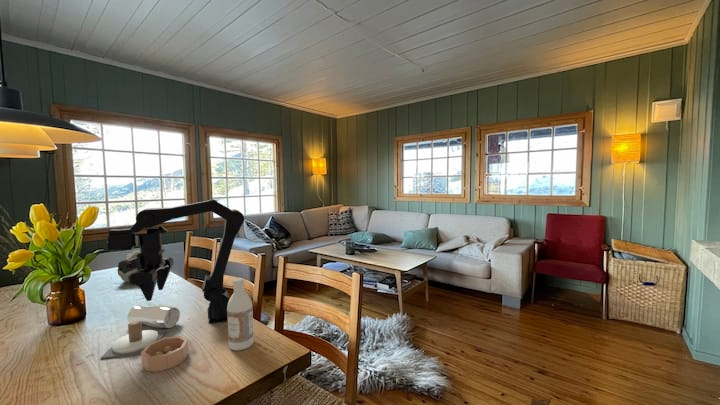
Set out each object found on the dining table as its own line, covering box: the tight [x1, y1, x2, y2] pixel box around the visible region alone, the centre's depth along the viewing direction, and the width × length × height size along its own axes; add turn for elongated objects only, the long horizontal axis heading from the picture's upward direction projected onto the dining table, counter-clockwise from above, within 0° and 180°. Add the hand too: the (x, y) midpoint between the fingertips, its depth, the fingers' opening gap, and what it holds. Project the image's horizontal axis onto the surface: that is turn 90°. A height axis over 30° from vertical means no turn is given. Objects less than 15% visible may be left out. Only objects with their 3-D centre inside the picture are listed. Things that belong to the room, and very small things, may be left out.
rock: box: [117, 249, 144, 283], centre depth 146 cm, size 15×18×15 cm
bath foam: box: [227, 277, 255, 352], centre depth 88 cm, size 7×7×20 cm
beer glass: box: [126, 305, 181, 329], centre depth 101 cm, size 7×7×15 cm
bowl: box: [140, 335, 189, 373], centre depth 81 cm, size 10×10×4 cm
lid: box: [111, 321, 159, 354], centre depth 89 cm, size 11×11×6 cm
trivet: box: [100, 330, 167, 360], centre depth 89 cm, size 12×12×1 cm
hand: (155, 295), depth 96 cm, fingers open, 9 cm apart
